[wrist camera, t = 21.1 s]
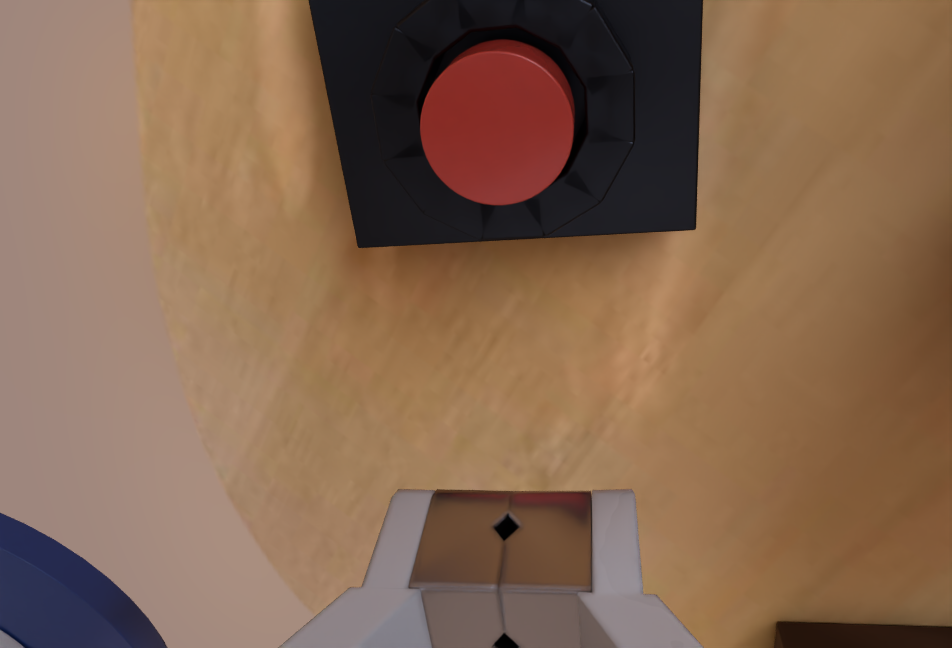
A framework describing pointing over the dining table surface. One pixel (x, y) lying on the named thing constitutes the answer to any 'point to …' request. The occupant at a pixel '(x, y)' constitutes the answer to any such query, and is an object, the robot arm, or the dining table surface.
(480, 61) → the red button
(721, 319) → the dining table surface
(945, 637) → the dark flat block
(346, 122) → the button box
